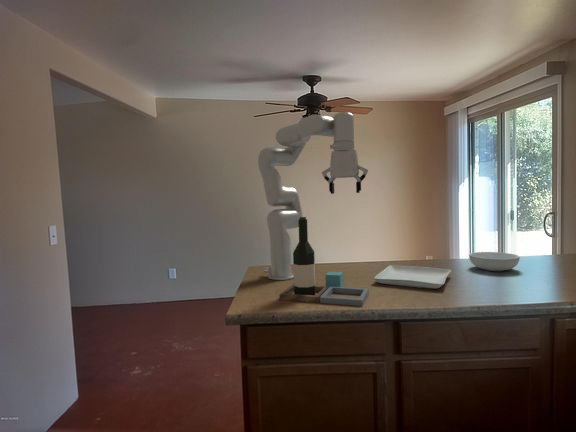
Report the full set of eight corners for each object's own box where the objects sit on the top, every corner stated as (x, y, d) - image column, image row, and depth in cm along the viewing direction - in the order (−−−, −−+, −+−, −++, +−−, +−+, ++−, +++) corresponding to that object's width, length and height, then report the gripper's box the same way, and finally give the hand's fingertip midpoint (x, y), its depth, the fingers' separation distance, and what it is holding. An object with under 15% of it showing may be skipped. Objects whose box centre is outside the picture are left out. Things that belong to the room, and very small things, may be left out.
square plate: (389, 272, 177) (389, 264, 177) (451, 277, 164) (451, 268, 163) (372, 285, 154) (372, 276, 154) (443, 293, 140) (443, 283, 140)
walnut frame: (279, 299, 137) (279, 294, 137) (293, 289, 151) (292, 284, 151) (318, 302, 132) (318, 297, 132) (328, 291, 146) (328, 286, 146)
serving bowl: (519, 267, 178) (519, 252, 177) (519, 276, 160) (519, 260, 160) (471, 263, 189) (471, 250, 189) (466, 271, 172) (466, 257, 171)
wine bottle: (309, 299, 136) (307, 218, 134) (290, 296, 140) (287, 217, 138) (319, 293, 143) (317, 216, 141) (301, 291, 147) (298, 216, 145)
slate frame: (320, 302, 132) (320, 297, 132) (330, 291, 146) (330, 286, 146) (362, 306, 127) (362, 300, 127) (368, 294, 141) (368, 288, 141)
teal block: (325, 289, 150) (325, 274, 149) (329, 285, 155) (329, 271, 155) (340, 290, 147) (340, 275, 147) (343, 286, 153) (343, 272, 153)
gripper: (318, 147, 137) (320, 194, 138) (366, 144, 131) (367, 192, 132) (324, 149, 144) (325, 193, 145) (369, 146, 138) (369, 192, 139)
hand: (345, 193), depth 139 cm, fingers open, 9 cm apart
